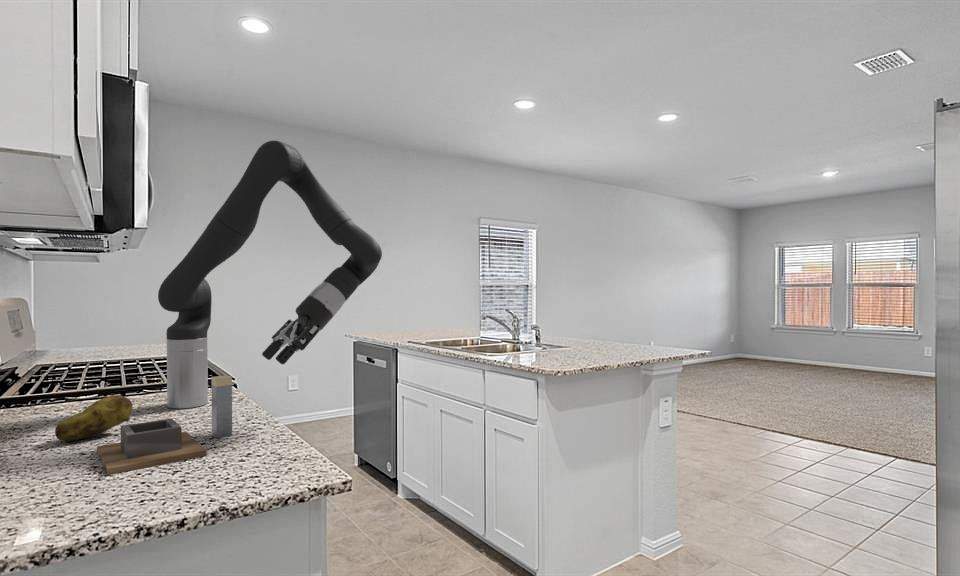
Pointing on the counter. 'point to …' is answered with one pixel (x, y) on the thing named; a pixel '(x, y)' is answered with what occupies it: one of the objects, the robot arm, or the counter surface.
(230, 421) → the tall square pillar
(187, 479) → the counter surface
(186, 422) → the counter surface
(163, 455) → the well board
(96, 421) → the potato
